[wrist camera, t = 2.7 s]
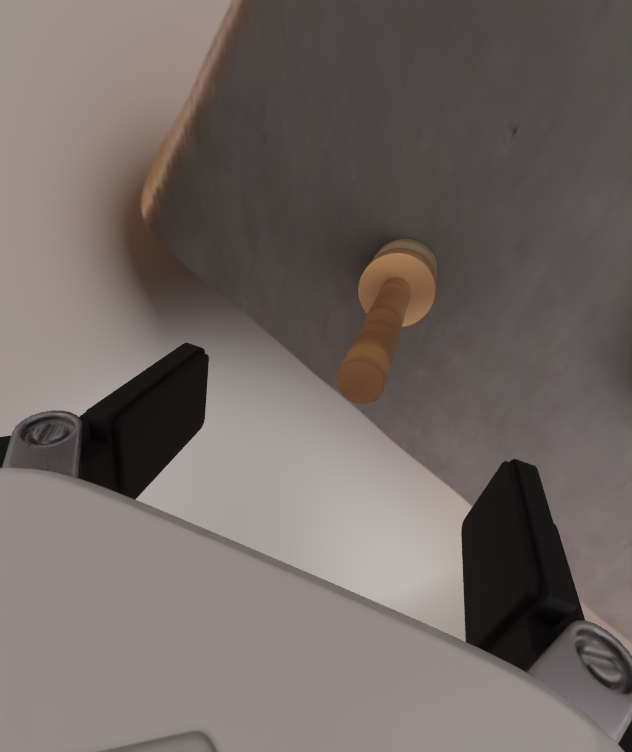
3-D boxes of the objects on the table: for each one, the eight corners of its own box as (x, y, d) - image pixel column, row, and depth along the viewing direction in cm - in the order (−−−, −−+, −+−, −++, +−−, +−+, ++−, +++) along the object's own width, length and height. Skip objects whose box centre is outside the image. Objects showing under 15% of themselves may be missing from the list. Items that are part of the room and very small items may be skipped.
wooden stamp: (359, 259, 27) (277, 354, 14) (419, 225, 25) (387, 300, 12) (389, 314, 28) (338, 446, 16) (449, 286, 26) (447, 413, 13)
